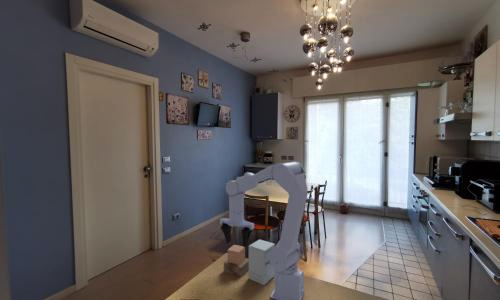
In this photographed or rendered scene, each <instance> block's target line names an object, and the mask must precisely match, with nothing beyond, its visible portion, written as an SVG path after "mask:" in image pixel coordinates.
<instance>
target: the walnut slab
mask: <svg viewBox="0 0 500 300" xmlns="http://www.w3.org/2000/svg"><path fill="white" fill-rule="evenodd" d="M223 272H224V273H227V274H230V275H233V276H237V277H239V278H242V277H243V276H244V275H245V274H246V273H248V272H249V258H247V257H245V260H244V261H243V262H242V263H241V264H240V265H237V264H233V263H229V262H228V258H227V259H226V260H225V261H223Z"/></svg>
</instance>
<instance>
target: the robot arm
mask: <svg viewBox="0 0 500 300" xmlns="http://www.w3.org/2000/svg"><path fill="white" fill-rule="evenodd" d="M305 176H306V170H305V169H304V167H303V165H302V164H301V163H300V162H298V161H291V162H289V161H288V162H283V163H282V162H279V163H275V164H273V165H269V166H268V167H266V168H264V169H262V170H260V171H258V172H256V173H253V172H249V171H247V172H245V173H244V174H243V175H242V176H237V177H236V178H235V180H233V179H232V180H228V181H227V183H226V184H225V191H226V194H227V195H228V211H229V213H228V217H229V218H226V217H225V218H223V217H221V218H220V219H219V224H220V225H221V226H220V229H221V232H222V233H223V235H224V237H225V242H226V244H230V243H231V242H232V227H239V228H243V229H241V234H242V235H241V236H242V246H243V247H245V248H246V247H247V246H248V244H249V238H250V235H251V233H252V231H253V230H254V229H255V223H254V222H250V221H247V220H245V219H244V218H245V217H244V216H245V214H244V213H245V210H244V207H245V205H244V204H245V203H244V202H245V201H244V199H245V194H246V192H248V191H250V190H253V189H255V188H257V187H258V185H259V183H260V182H264V181H266V180H269V179H270V180H274V181H275V182H276V183H277V184H278V185H279V186H280V187H281V188H282V189H283V190H284V191H285V193H286V192H287V194H288V199H287V204H286V208H285V214H284V219H283V224H282V228H281V232H280V233H281V234H280V238H279V240H278V242H277V243H276V244H275V248H274V252H273V253H272V254H271V256H270V263H271V266H272V268H273V269H274V271H275V276H274V289H273V290H272V293H271V294H270V298H271V299H273V300H302V299H303V297H304V296H305V295H304V294H305V272H304V271H302V270H300V269H298V268H297V266H298V262H299V261H300V260H301V251H300V250H301V244H300V243H299V242H298V239H299V234H300V230H301V226H302V221H303V216H304V212H305V207H306V203H307V197H308V193H309V192H308V191H309V190H308V187H307V181H306V177H305Z"/></svg>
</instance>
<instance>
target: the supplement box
mask: <svg viewBox="0 0 500 300" xmlns="http://www.w3.org/2000/svg"><path fill="white" fill-rule="evenodd" d="M275 246H276V244H275V243H273V242H270V241H266V240H263V239H258V240H256V241H254V242H253V243H251V244H249V245H248V259H249V270H248V279H249V280H252V281H254V282H256V283H258V284H260V285H262V286H266V284H267V283H268V282H269V281H271V280H272V279H273V278H275V271H274V269H273V268H272V266H271V263H270V256H271V254H272V253H273V252H274V248H275Z"/></svg>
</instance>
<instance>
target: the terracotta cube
mask: <svg viewBox="0 0 500 300" xmlns="http://www.w3.org/2000/svg"><path fill="white" fill-rule="evenodd" d="M245 258H246V247H243V245H238V244H233V245H232V246H231V247H229V248H228V249H227V259H228V262H229V263H233V264H237V265H240V264H241V263H242V262H243V261H244V260H245Z"/></svg>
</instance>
